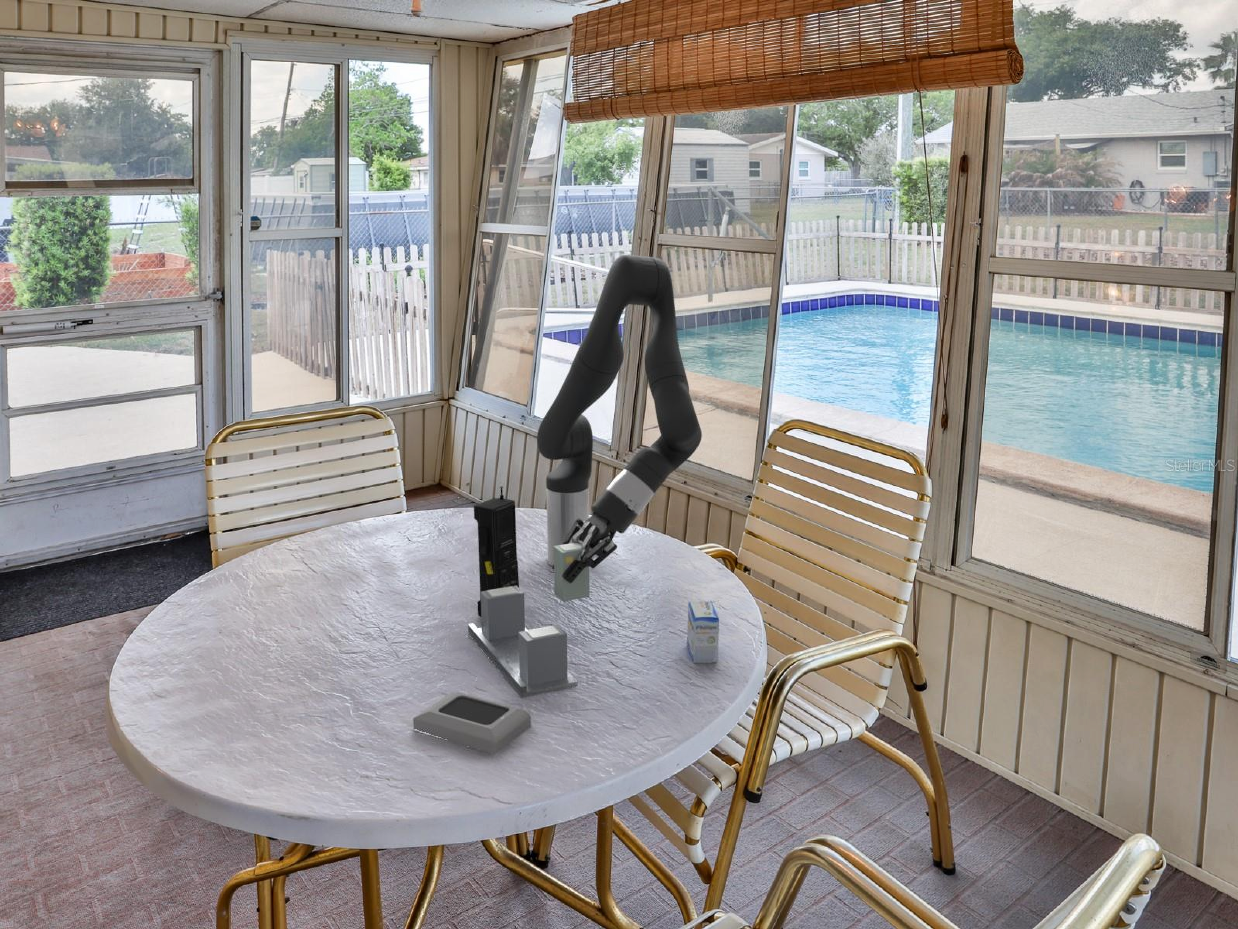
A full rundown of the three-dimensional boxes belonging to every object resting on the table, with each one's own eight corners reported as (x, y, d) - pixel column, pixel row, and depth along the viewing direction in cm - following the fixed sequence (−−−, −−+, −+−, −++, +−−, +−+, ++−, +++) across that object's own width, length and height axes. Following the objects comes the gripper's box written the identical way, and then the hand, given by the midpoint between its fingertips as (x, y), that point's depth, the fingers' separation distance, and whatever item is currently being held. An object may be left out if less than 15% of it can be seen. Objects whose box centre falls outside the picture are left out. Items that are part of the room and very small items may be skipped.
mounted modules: (481, 632, 190) (480, 590, 188) (517, 625, 193) (516, 584, 191) (528, 686, 169) (527, 640, 167) (567, 677, 172) (566, 632, 170)
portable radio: (498, 625, 195) (494, 499, 189) (473, 619, 198) (468, 494, 192) (523, 612, 202) (520, 489, 195) (499, 605, 205) (495, 484, 198)
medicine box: (686, 645, 187) (687, 600, 185) (710, 644, 187) (712, 599, 185) (693, 664, 179) (694, 617, 177) (718, 663, 180) (719, 616, 178)
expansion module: (554, 593, 184) (553, 545, 181) (580, 589, 186) (579, 541, 183) (563, 601, 180) (562, 552, 178) (589, 597, 182) (588, 547, 180)
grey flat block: (450, 685, 164) (530, 706, 157) (451, 706, 165) (531, 728, 158) (412, 711, 156) (495, 734, 149) (413, 733, 157) (495, 757, 150)
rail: (468, 634, 191) (468, 624, 191) (519, 624, 196) (518, 615, 195) (521, 698, 167) (520, 687, 166) (577, 686, 171) (577, 675, 171)
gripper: (592, 478, 187) (531, 551, 185) (627, 498, 175) (562, 577, 173) (618, 503, 191) (559, 575, 189) (654, 524, 179) (591, 601, 177)
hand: (561, 575), depth 181 cm, fingers closed on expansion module, 4 cm apart
